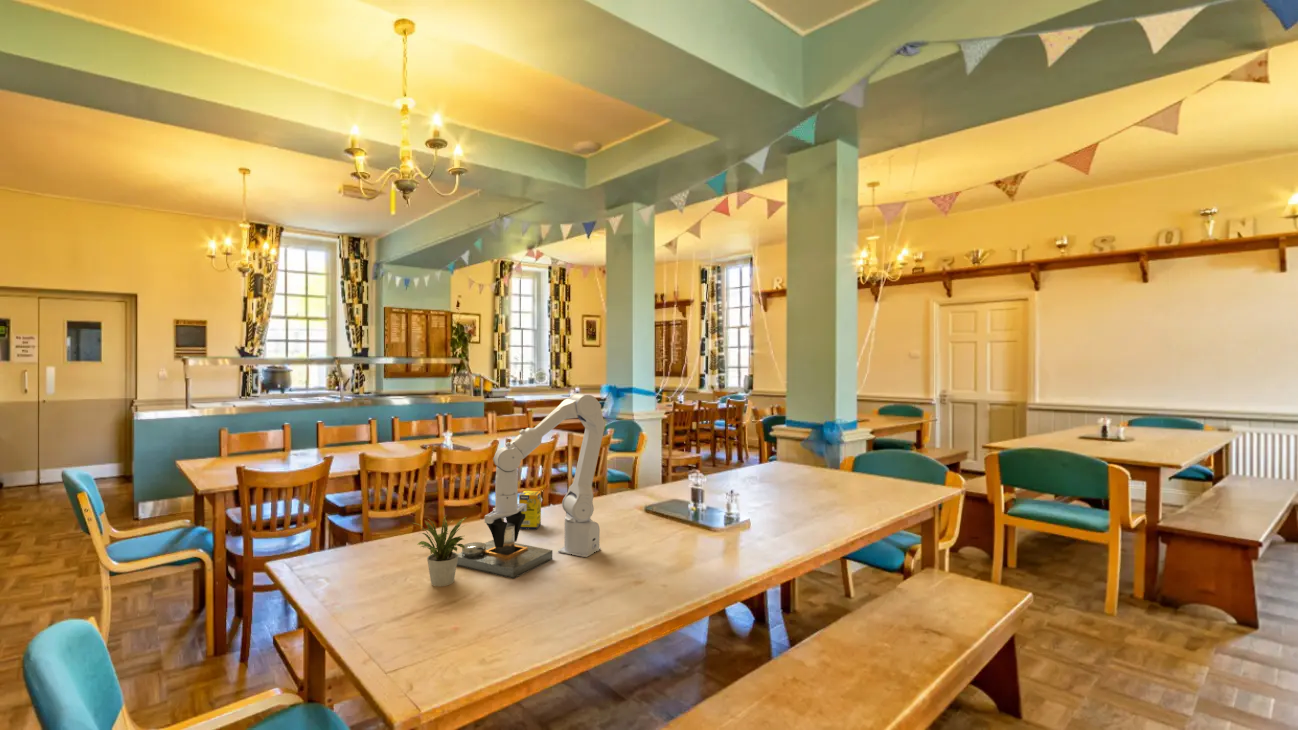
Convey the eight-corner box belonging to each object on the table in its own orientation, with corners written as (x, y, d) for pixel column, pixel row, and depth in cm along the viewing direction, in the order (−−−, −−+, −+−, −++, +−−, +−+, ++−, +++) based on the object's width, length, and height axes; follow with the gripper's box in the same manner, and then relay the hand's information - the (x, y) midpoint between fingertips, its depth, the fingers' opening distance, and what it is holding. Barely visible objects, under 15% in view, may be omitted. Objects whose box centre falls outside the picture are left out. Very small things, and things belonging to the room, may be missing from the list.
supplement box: (537, 529, 185) (537, 495, 184) (518, 529, 185) (518, 494, 185) (541, 524, 191) (541, 490, 190) (522, 524, 191) (523, 490, 191)
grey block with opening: (552, 559, 158) (552, 542, 158) (513, 578, 144) (513, 560, 144) (494, 547, 167) (494, 532, 167) (452, 564, 153) (452, 548, 153)
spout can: (519, 550, 157) (519, 518, 157) (504, 556, 153) (504, 523, 153) (505, 547, 160) (505, 515, 160) (490, 552, 156) (490, 520, 156)
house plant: (400, 597, 132) (401, 525, 131) (408, 575, 145) (409, 509, 145) (467, 591, 136) (467, 521, 135) (469, 570, 149) (469, 506, 149)
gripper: (512, 486, 164) (512, 534, 165) (475, 496, 151) (475, 549, 152) (532, 488, 161) (532, 538, 161) (496, 500, 148) (496, 553, 148)
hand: (506, 543), depth 156 cm, fingers closed on spout can, 5 cm apart
